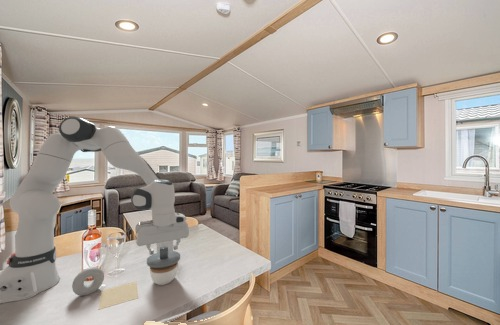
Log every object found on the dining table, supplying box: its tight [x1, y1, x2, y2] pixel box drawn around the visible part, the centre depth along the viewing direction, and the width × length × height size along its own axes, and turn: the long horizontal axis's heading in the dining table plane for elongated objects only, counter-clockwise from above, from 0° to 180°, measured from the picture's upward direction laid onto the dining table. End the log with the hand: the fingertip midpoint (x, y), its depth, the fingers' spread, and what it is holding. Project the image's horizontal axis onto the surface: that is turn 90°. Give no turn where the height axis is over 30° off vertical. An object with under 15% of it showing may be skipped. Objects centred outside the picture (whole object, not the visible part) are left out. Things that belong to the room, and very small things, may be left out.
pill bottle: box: [156, 240, 174, 253], centre depth 111 cm, size 8×8×15 cm
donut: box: [71, 266, 105, 297], centre depth 82 cm, size 10×4×10 cm, turn 141°
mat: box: [98, 281, 139, 310], centre depth 81 cm, size 12×12×1 cm
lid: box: [146, 246, 181, 268], centre depth 89 cm, size 13×13×5 cm
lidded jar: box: [149, 261, 179, 286], centre depth 90 cm, size 11×11×9 cm
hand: (163, 251), depth 89 cm, fingers open, 8 cm apart
